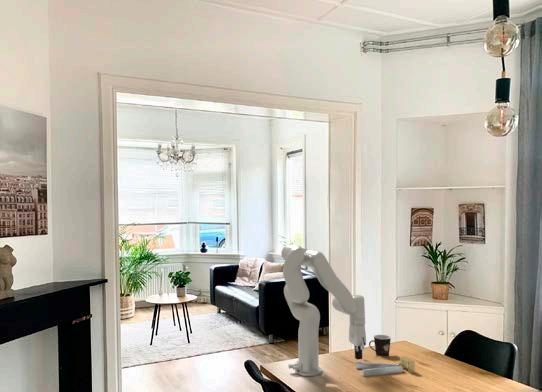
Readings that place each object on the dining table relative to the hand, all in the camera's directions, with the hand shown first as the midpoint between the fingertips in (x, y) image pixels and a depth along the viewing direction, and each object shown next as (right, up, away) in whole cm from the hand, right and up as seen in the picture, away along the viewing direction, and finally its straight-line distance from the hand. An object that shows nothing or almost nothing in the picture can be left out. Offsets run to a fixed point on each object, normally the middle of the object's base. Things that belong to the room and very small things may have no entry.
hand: (358, 358), depth 206 cm
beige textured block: (+21, -2, -9) cm, 23 cm away
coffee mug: (+14, -5, +14) cm, 20 cm away
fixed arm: (+8, -1, -14) cm, 16 cm away
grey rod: (+8, -2, -8) cm, 11 cm away
